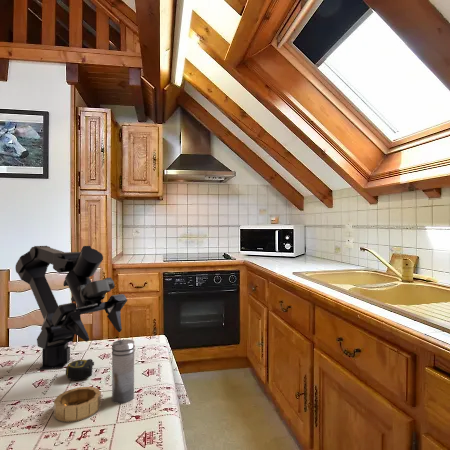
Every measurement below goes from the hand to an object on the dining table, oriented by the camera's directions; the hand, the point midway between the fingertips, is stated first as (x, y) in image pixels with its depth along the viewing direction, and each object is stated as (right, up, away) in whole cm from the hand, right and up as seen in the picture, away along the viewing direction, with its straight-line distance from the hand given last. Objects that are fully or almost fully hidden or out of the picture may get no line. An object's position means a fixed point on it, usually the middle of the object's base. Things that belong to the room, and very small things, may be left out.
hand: (104, 335), depth 80 cm
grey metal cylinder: (+6, -13, -5) cm, 15 cm away
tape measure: (-9, -14, +7) cm, 18 cm away
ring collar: (-2, -13, -10) cm, 17 cm away
